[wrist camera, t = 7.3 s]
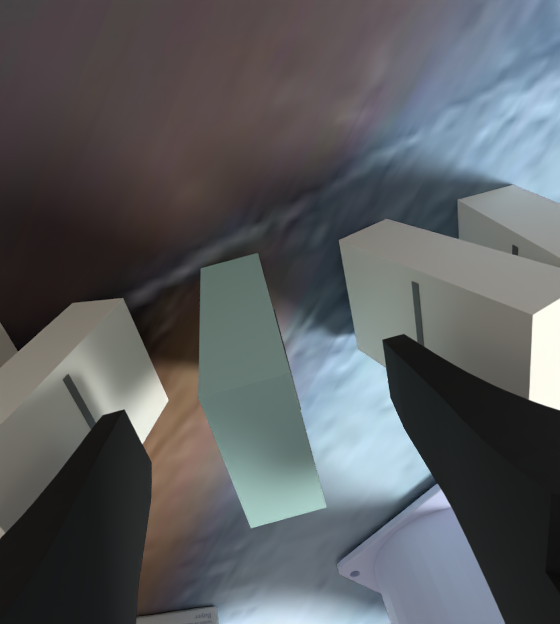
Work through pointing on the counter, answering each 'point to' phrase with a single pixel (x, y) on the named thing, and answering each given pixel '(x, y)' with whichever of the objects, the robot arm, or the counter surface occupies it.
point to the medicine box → (182, 617)
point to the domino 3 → (457, 305)
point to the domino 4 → (512, 223)
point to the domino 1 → (69, 396)
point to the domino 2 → (253, 395)
